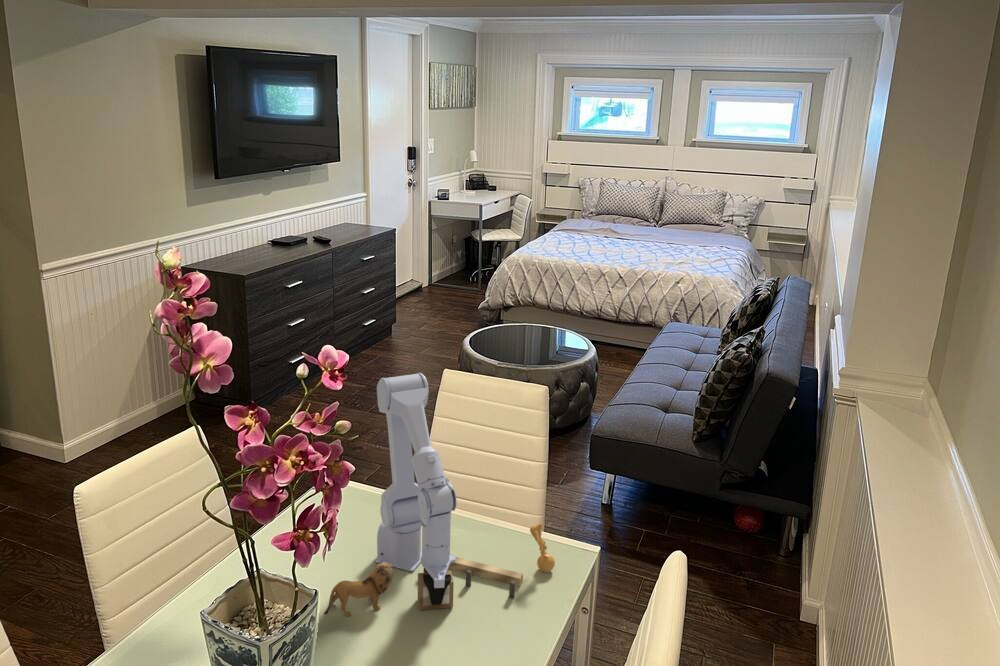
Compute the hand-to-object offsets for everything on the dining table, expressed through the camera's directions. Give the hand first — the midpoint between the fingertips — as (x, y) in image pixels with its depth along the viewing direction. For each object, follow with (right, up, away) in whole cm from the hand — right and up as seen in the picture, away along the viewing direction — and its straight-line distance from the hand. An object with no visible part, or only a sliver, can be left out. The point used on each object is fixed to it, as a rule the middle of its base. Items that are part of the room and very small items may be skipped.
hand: (435, 596), depth 162 cm
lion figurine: (-15, -2, -1) cm, 15 cm away
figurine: (+23, +1, +13) cm, 26 cm away
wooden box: (0, -1, +1) cm, 1 cm away
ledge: (+7, +1, +9) cm, 12 cm away
